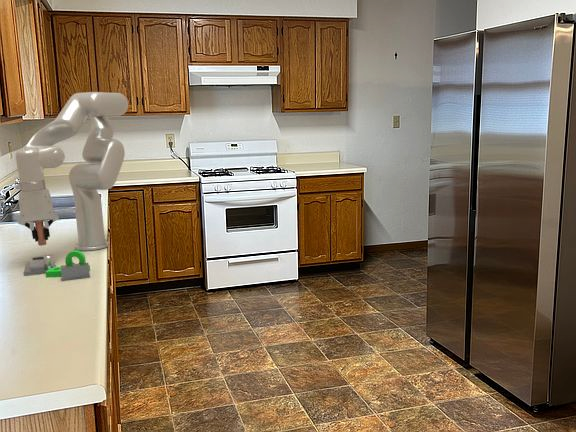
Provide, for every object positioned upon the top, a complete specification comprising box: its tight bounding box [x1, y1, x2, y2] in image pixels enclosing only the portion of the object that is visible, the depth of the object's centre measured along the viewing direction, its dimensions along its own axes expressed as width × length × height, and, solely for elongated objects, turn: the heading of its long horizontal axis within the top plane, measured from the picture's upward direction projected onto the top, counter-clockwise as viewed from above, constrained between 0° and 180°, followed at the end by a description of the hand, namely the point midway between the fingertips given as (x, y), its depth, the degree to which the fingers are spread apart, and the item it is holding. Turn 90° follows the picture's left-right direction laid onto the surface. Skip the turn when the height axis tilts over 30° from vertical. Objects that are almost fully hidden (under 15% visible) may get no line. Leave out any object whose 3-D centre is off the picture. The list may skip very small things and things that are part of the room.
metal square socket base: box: [23, 254, 56, 277], centre depth 186 cm, size 10×9×5 cm
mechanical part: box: [45, 249, 91, 278], centre depth 181 cm, size 12×6×8 cm, turn 94°
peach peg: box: [34, 220, 48, 246], centre depth 193 cm, size 3×3×9 cm
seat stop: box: [60, 262, 91, 282], centre depth 176 cm, size 3×8×4 cm, turn 110°
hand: (41, 239), depth 194 cm, fingers closed on peach peg, 2 cm apart
